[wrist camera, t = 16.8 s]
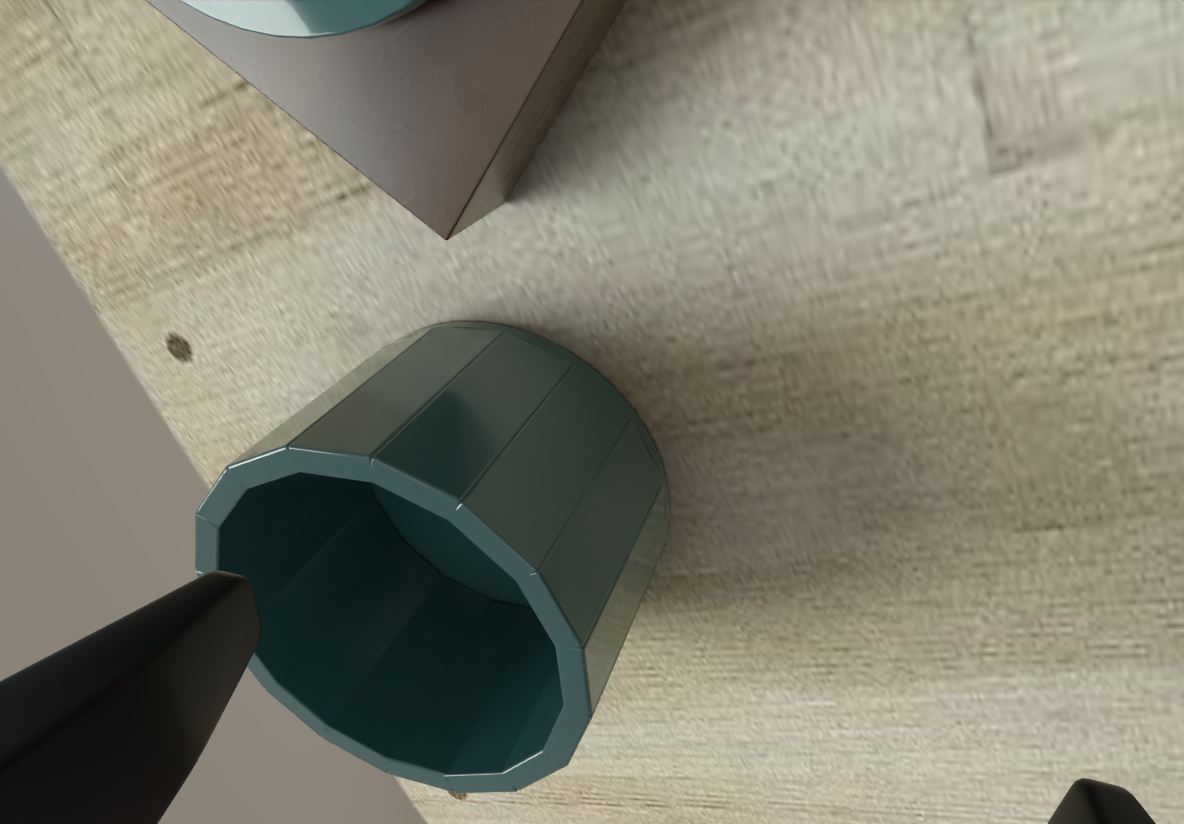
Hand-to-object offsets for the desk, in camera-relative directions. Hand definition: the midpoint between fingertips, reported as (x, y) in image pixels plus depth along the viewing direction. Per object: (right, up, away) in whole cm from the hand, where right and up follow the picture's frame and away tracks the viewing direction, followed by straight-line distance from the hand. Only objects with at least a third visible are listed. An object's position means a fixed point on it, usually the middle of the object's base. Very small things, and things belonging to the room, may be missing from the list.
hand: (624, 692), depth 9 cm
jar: (-3, +1, +16) cm, 17 cm away
